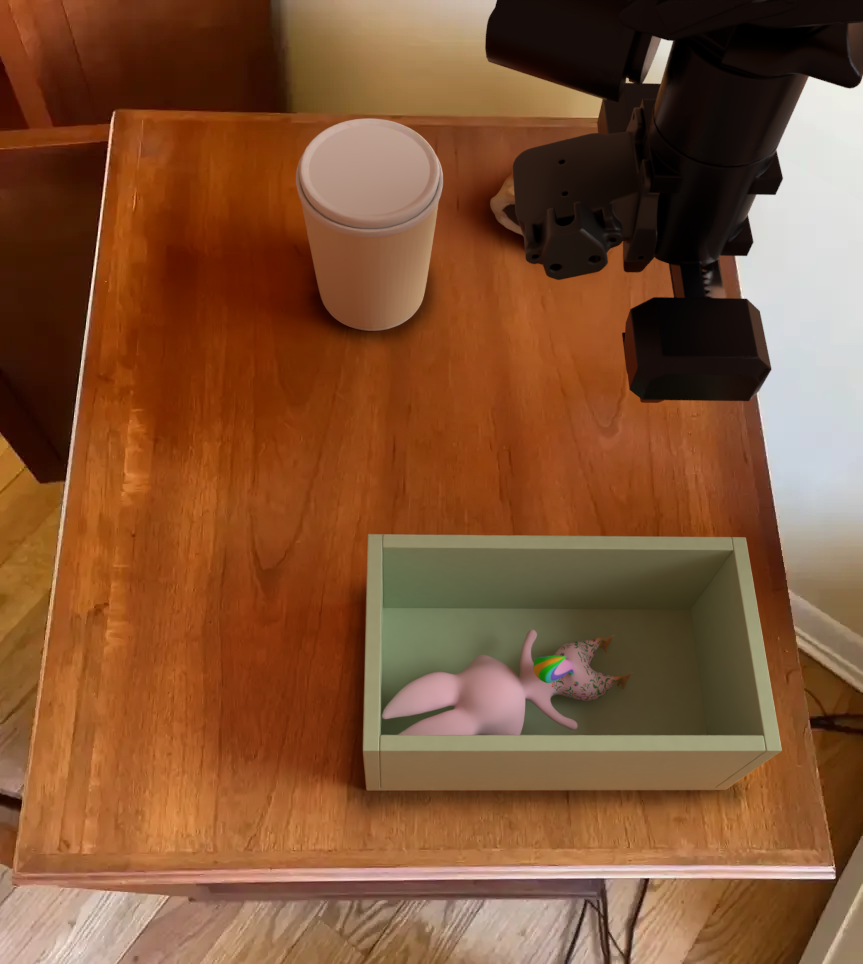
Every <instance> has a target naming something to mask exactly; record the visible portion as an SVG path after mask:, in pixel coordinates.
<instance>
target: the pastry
mask: <svg viewBox="0 0 863 964" xmlns="http://www.w3.org/2000/svg"><path fill="white" fill-rule="evenodd" d="M489 205H490V209H491V212H492V213H493V214H494V217H495V219H496V221H497V222H498V223H499V224H500V225H502V226H503V227H504V228H506V229H507V230H510V231H512V232H513V233H515V234H518V235H521V236H523V233H522V230H521V228H520V225H519V222H518V219H517V216H516V212H515V197H514V182H513V172H512V173H510V174H509V175H508V176H506V178H505V179H504V181H503V184H502V185H501V188H500V189H499V191H498V192H497V194H495V196H493V197H491V198H490V201H489ZM523 238H524V236H523Z"/></svg>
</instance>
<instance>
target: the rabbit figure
mask: <svg viewBox="0 0 863 964" xmlns="http://www.w3.org/2000/svg"><path fill="white" fill-rule="evenodd" d="M614 636H615V635H612V636H611V637H609V638H596V639H594V640H584V641H576V642H570V643H566V644H564V645H563V646H561V647H560V648H559V649H558V650H557V652H556V653H555V654H554V656H541V657H538V658H536V659H535V661H534V663H533V661H532V658H531V647H532V644H533V642H534V641H535V639H536V637H537V633H536V631H535V630H530V631H529V632H528V633H527V636H526V638H525V641H524V643H523V646H522V651H521V658H520V677H518V676H517V675H516V673H515V672H514V671H513V670H512V669H511V668H509V667H508V666H507V665H505V664H503V663H502V662H500V661H498V660H496V659H494V658H492V657H490V656H487V655H479V656H477V657H476V658H475V659H474V660H473V661H472V662H471V663H470V664H469V665H468V666H467V667H466V668H465V669H464V670H463V671H462V672H460V673H458V674H449V673H445V672H434V673H430V674H427V675H424V676H422V677H420V678H418V679H416V680H414V681H412V682H411V683H409V684H408V685H406V686H405V687H404V688H403V689H401V690H400V691H399V692H398V693H397V694H396V695H395V697H394V698H393V699H392V700H391V701H390V702H389V703H388V705H387V706H386V708H385V709H384V711H383V713H382V718H383V719H390V718H395V717H404V716H411V715H415V714H420V713H424V712H428V711H432V710H436V709H440V708H443V707H447V706H454V707H455V709H453V710H449V711H446V712H443V713H440V714H437V715H435V716H432V717H429V718H426V719H423V720H421V721H419V722H417V723H415V724H413V725H412V726H410V727H409V728H407V729H406V730H404V731H403V732H401V733H399V734H398V735H520V733H521V731H522V727H523V723H524V716H525V699H528V700H530V701H531V702H533V703H534V704H535V705H536V706H537V707H538V708H539V709H540V710H541V711H542V712H543V713H544V714H545V715H547V716H548V717H549V718H551V719H552V720H553V721H555V722H557V723H558V724H560V725H562V726H564V727H566V728H568V729H570V730H576V729H577V723H576V721H574V720H573V719H570V718H566V717H564V716H562V715H561V714H559V713H558V712H557V711H556V710H555V709H554V708H553V706H552V705H551V701H550V698H551V697H552V696H553V695H563V696H566V697H570V698H573V699H576V700H580V701H592V700H595V699H598V698H600V697H601V696H603V695H604V694H605V693H606V692H607V691H608V690H609V689H610V688H611V687H612V686H613V685H614V684H615V683H616V682H617V681H618V680H619V681H618V683H617V685H618V686H619V684H620V685H621V684H622V689H626V688H624V686H626V683H627V680H628V679H629V676H630V675H632V674H633V673H634V672H633V673H629V674H628V675H624V676H618V675H619V674H617V676H611V675H607V674H603V673H600V672H596V671H594V670H592V669H591V668H590V663H591V661H592V659H593V657H594V654H595V652H596V650H597V648H598V646H599V645H600V646H599V647H600V648H601V647H604V649H605V652H606V653H608V652H607V650H606V649H607V648H608V645H609V643H610V642H611V640H612V639H611V638H613V637H614Z"/></svg>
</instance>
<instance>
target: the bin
mask: <svg viewBox="0 0 863 964" xmlns="http://www.w3.org/2000/svg"><path fill="white" fill-rule="evenodd" d="M366 551H367V553H366V585H365V586H366V587H365V588H366V591H365V594H366V595H365V628H364V629H365V630H364V631H365V633H364V634H365V635H364V636H365V638H364V673H363V674H364V677H363V678H364V681H363V715H362V716H363V717H362V718H363V720H362V721H363V722H362V723H363V724H362V757H363V768H364V769H363V770H364V781H365V789H366V791H727V790H728V789H730V787H732V786H734V785H735V784H736V783H737V782H739V781H740V780H742V779H743V778H746V776H748V775H750V774H751V773H752V772H754V771H755V770H757V769H758V768H760V767H761V766H763V764H765V763H767V762H768V761H769V760H771V759H773V758H774V757H775V756H777V755H778V754H780V753H782V751H783V749H782V742H781V735H780V731H779V724H778V720H777V719H778V717H777V713H776V707H775V701H774V696H773V688H772V684H771V678H770V673H769V665H768V661H767V655H766V654H767V653H766V649H765V643H764V637H763V631H762V624H761V619H760V613H759V607H758V602H757V596H756V590H755V584H754V578H753V571H752V567H751V561H750V555H749V548H748V543H747V537H745V536H732V537H731V536H656V535H655V536H651V535H650V536H644V535H643V536H642V535H641V536H640V535H638V536H637V535H636V536H635V535H634V536H633V535H632V536H631V535H533V534H531V535H530V534H529V535H528V534H527V535H525V534H523V535H522V534H521V535H519V534H517V535H516V534H410V533H409V534H404V533H403V534H402V533H401V534H399V533H397V534H395V533H394V534H393V533H391V534H390V533H389V534H388V533H384V534H382V533H368V534H367V548H366ZM530 630H535V631H536V633H537V637H536V639H535V641H534V642H533V644H532V647H531V658H532V661H533V663H534V661H535V659H536V658H538V657H541V656H554V654H555V653H556V652H557V650H558V649H559V648H560V647H561V646H563V645H564V644H566V643H570V642H576V641H584V640H594V639H596V638H609V637H611V636H612V635H615V636H614V637H613V638H611V639H612V640H611V642H610V643H609V645H608V648H607V649H606V650H607V652H608V653H606V652H605V649H604V647H601V648H600V647H599V646H600V645H599V646H598V648H597V650H596V652H595V654H594V657H593V659H592V661H591V663H590V668H591V669H592V670H594V671H596V672H600V673H603V674H607V675H611V676H617V674H619V675H618V676H624V675H628V674H629V673H633V672H634V673H633V674H632V675H630V676H629V679H628V680H627V683H626V686H624V688H626V689H622V684H621V685H620V684H619V686H618V685H617V683H618V681H619V680H618V681H617V682H616V683H615V684H614V685H613V686H612V687H611V688H610V689H609V690H608V691H607V692H606V693H605V694H604V695H603V696H601V697H600V698H598V699H595V700H592V701H580V700H576V699H573V698H570V697H566V696H563V695H553V696H552V697H551V698H550V701H551V705H552V706H553V708H554V709H555V710H556V711H557V712H558V713H559V714H561V715H562V716H564V717H566V718H570V719H573V720H574V721H576V723H577V729H576V730H570V729H568V728H566V727H564V726H562V725H560V724H558V723H557V722H555V721H553V720H552V719H551V718H549V717H548V716H547V715H545V714H544V713H543V712H542V711H541V710H540V709H539V708H538V707H537V706H536V705H535V704H534V703H533V702H531V701H530V700H528V699H525V716H524V723H523V727H522V731H521V733H520V735H398V734H399V733H401V732H403V731H404V730H406V729H407V728H409V727H410V726H412V725H413V724H415V723H417V722H419V721H421V720H423V719H426V718H429V717H432V716H435V715H437V714H440V713H443V712H446V711H449V710H453V709H455V707H454V706H447V707H443V708H440V709H436V710H432V711H428V712H424V713H420V714H415V715H411V716H404V717H395V718H390V719H383V718H382V713H383V711H384V709H385V708H386V706H387V705H388V703H389V702H390V701H391V700H392V699H393V698H394V697H395V695H396V694H397V693H398V692H399V691H400V690H401V689H403V688H404V687H405V686H406V685H408V684H409V683H411V682H412V681H414V680H416V679H418V678H420V677H422V676H424V675H427V674H430V673H434V672H445V673H449V674H458V673H460V672H462V671H463V670H464V669H465V668H466V667H467V666H468V665H469V664H470V663H471V662H472V661H473V660H474V659H475V658H476V657H477V656H479V655H487V656H490V657H492V658H494V659H496V660H498V661H500V662H502V663H503V664H505V665H507V666H508V667H509V668H511V669H512V670H513V671H514V672H515V673H516V675H517V676H518V677H520V658H521V651H522V646H523V643H524V641H525V638H526V636H527V633H528V632H529V631H530Z"/></svg>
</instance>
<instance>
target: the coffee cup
mask: <svg viewBox="0 0 863 964" xmlns="http://www.w3.org/2000/svg"><path fill="white" fill-rule="evenodd" d="M297 163H298V164H297V166H296V172H295V185H296V190H297V194H298V197H299V200H300V203H301V206H302V207H301V208H302V214H303V218H304V219H303V220H304V223H305V229H306V235H307V239H308V244H309V248H310V253H311V258H312V263H313V269H314V272H315V278H316V283H317V288H318V291H319V295H320V299H321V301H322V304H323V306H324V307H325V309H326V310H327V312H328V313H329V315H331V316H332V318H334V319H335V320H336V321H338V322H340V323H341V324H343V325H345V326H347V327H350V328H352V329H355V330H359V331H360V330H361V331H366V332H377V331H384V330H389V329H392V328H395V327H398V326H401V325H402V324H404V323H405V322H407V321H408V320H409V319H411V318H412V317H413V316H414V315H415V314H416V313H417V311H418V310H419V309H420V307H421V305H422V303H423V300H424V297H425V292H426V287H427V283H428V276H429V269H430V263H431V257H432V251H433V250H432V249H433V243H434V237H435V231H436V223H437V217H438V211H439V201H440V200H441V196H442V192H443V189H444V188H443V186H444V173H443V172H444V171H443V167H442V164H441V162H440V159H439V157H438V155H437V154H436V152H435V150H434V149H433V147H432V146H431V144H430V143H429V142H428V141H427V140H426V139H425V138H424V137H423V136H422V135H421V134H419V133H418V132H417V131H416V130H413V128H410V127H408V126H406V125H403V124H401V123H399V122H396V121H393V120H388V119H383V118H354V119H349V120H345V121H342V122H339V123H337V124H334V125H331V126H329V127H328V128H325V129H324V130H323V131H321V132H320V133H319V134H317V135H316V136H315V137H314V138H313V139H312V140H311V141H310V142H309V143H308V144H307V146H306V147H305V149H304V151H303V153H302V155H301V156H300V158H299V161H298V162H297Z"/></svg>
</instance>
